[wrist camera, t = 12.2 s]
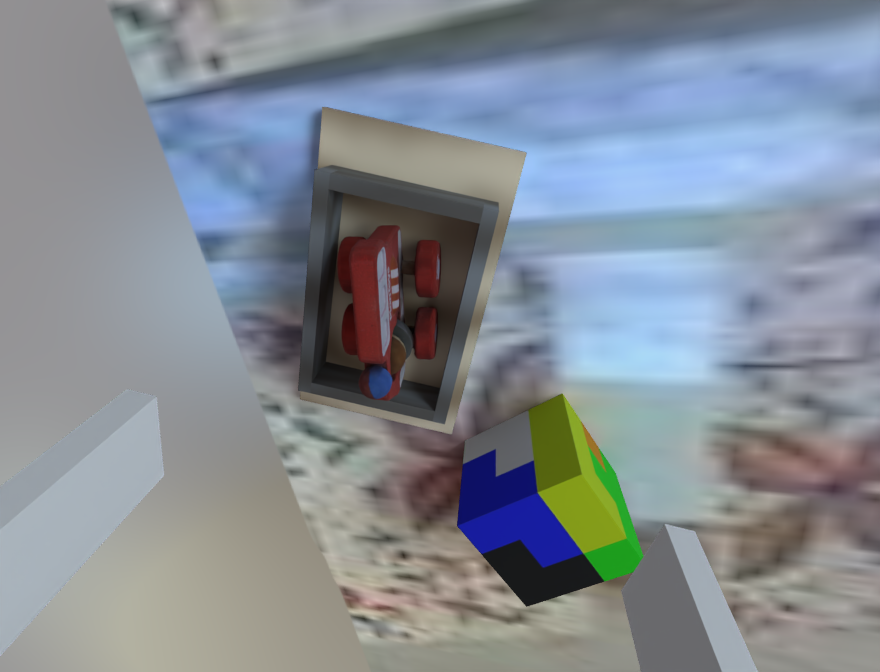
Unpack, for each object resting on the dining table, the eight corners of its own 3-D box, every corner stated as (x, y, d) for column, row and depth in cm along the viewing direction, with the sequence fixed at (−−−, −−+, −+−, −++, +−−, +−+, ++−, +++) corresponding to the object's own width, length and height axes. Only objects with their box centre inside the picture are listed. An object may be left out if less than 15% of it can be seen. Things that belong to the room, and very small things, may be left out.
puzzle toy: (465, 439, 43) (457, 525, 34) (562, 393, 40) (582, 474, 31) (520, 510, 46) (526, 606, 37) (615, 472, 43) (647, 567, 34)
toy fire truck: (357, 359, 39) (314, 435, 30) (349, 209, 34) (293, 245, 24) (439, 365, 38) (420, 445, 29) (444, 214, 33) (424, 253, 24)
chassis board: (327, 107, 32) (302, 105, 28) (525, 152, 32) (530, 157, 28) (304, 393, 42) (283, 422, 38) (452, 427, 42) (448, 460, 38)
